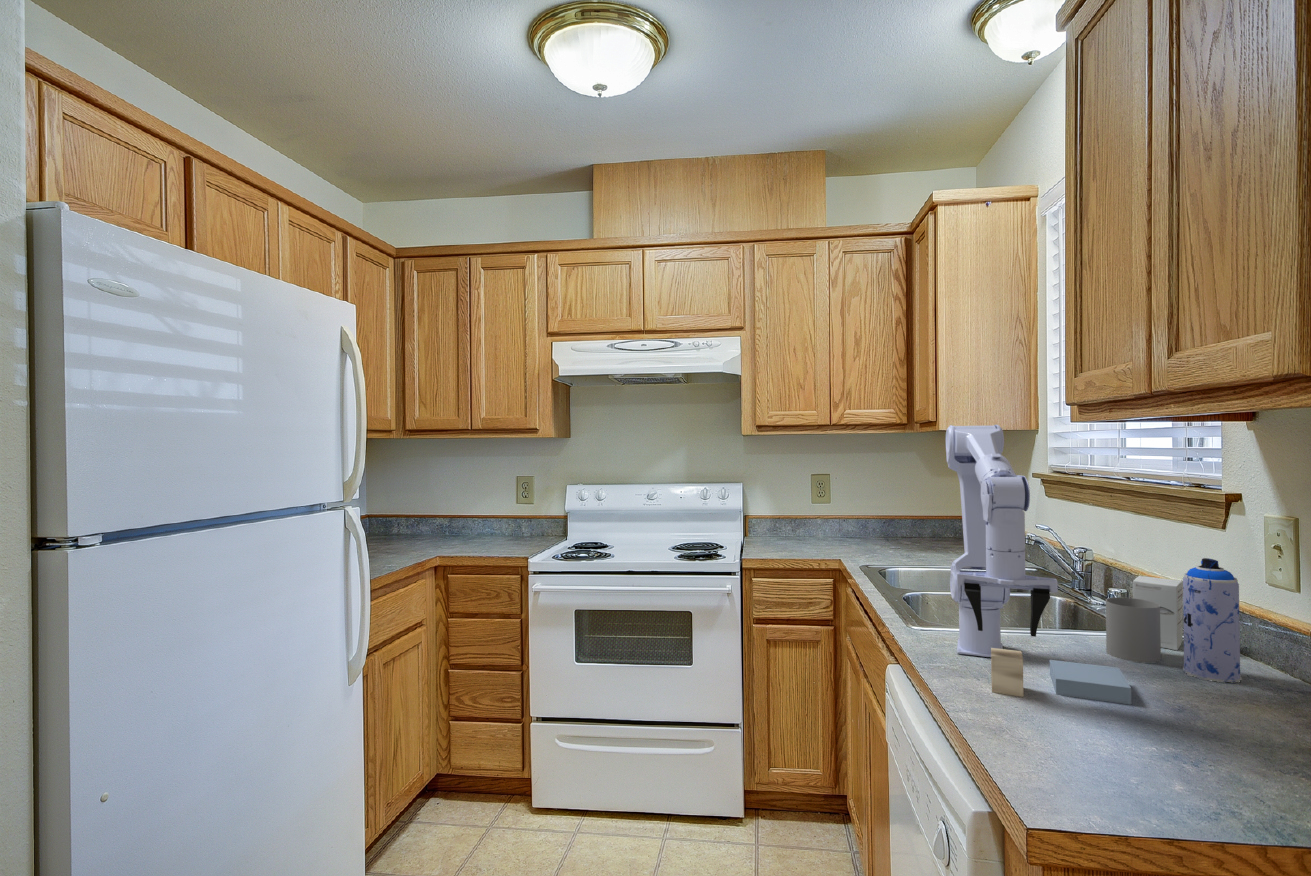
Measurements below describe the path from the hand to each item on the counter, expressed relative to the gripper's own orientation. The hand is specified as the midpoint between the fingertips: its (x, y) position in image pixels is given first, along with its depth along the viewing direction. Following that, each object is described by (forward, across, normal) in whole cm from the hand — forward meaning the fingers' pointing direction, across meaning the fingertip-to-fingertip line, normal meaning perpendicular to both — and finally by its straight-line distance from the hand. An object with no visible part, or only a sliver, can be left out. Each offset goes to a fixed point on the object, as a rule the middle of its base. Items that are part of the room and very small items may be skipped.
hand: (1006, 632), depth 109 cm
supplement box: (+10, +28, +40) cm, 50 cm away
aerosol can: (+10, +32, +22) cm, 40 cm away
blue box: (+10, +12, +6) cm, 17 cm away
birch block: (+10, 0, 0) cm, 10 cm away
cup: (+10, +22, +29) cm, 38 cm away
